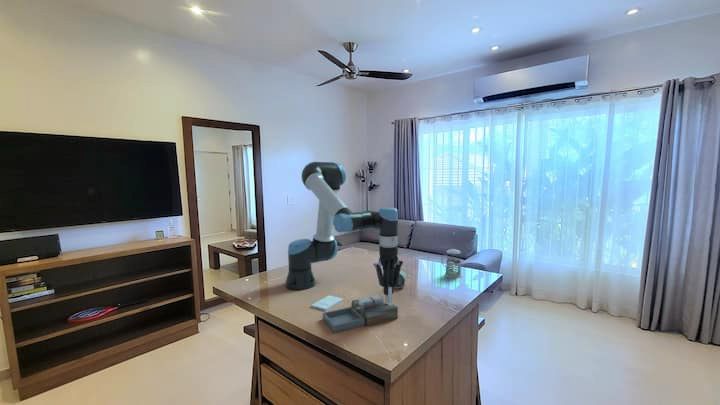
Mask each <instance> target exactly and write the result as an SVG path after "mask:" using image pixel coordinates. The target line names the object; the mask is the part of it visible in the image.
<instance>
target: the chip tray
mask: <svg viewBox="0 0 720 405" xmlns="http://www.w3.org/2000/svg"><path fill="white" fill-rule="evenodd" d="M322 320H323V321H324V323H325V324H326V325H327V326H328V327H329V329H330V330H331V331H332V333H339V332H343V331H347V330H352V329H355V328H358V327H363V326H365V325H366V324H365V318H364V317H362V316H361V315H360V314H359V313H358V312H357V311H356V310H355V309H354V308H352V306H349V307H343V308H339V309H335V310H328V311H324V312H322Z"/></svg>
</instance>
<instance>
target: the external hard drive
mask: <svg viewBox="0 0 720 405" xmlns="http://www.w3.org/2000/svg"><path fill="white" fill-rule="evenodd" d="M342 302H344V299H343V298H341V297H337V296H334V295H329V294H328V295H327V296H325V297H323V298H322V299H320V300H318V301H315V303H314V302H313V304H311V305H310V307H311V308H314V309H317V310H320V311H324V312H328V311H330V309H332V308H333V307H335V306H337V305H338V304H340V303H342Z"/></svg>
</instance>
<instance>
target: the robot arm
mask: <svg viewBox="0 0 720 405" xmlns="http://www.w3.org/2000/svg"><path fill="white" fill-rule="evenodd" d="M346 179H347V174H346V170H345V168H344V165H342V164H341V163H338V162H332V161H327V162H326V161H311V162H309V163H308V164H306V165H305V166H304V167H303V169H302V172H301V181H302V184H303V185H304V186H305V188H306V189H307V190H308V191H311V192H312V193H313V194H314V196H315V197H316V198H317V199H318V213H317V222H316V230H315V232H316V233H314V234H313V236H312V240H311V239H309V238H301V239H296V240H293V241H291V242H289V244H288V248H287V254H288V257H287V258H288V259H287V260H288V273H287V276H286V280H285V287H286V288H287V289H288V290H293V291H299V290H300V291H302V290H307V289H310V288H311V289H312V287H313V288H314V287H315V285H316V279H315V276H314V273H313V270H312V264H315V263H320V262H324V261H325V262H326V261H330V260H333V259H334V258H335V257H336V256H337V254H338V250H339V248H338V247H339V246H338V241H337V240H336V239H335V236H334V235H333V228H334V230H335V231H336V232H337V233H350V232H356V231H365V230H370V229H371V230H372V229H373V230H379V232H378V233H379V234H378V235H379V238H378V239H379V242H378V243H379V244H378V245H379V250H378V251H379V258H378V261H377V263H373V266H374V268H375V270H376V275H377V279H378V280H377V281H378V284H379V286H381V287H383V294H384V296H385V298H384V299H385V300H384V302H386V303H387V304H392V303H393V294H394V288H395V284H397V283H398V279H399V274H400V271H401V269H402V265H403V263H404V262H403V261H402V260H400V259H399V257H398V254H399V246H398V245H399V243H398V242H399V239H398V238H399V237H398V236H399V234H398V232H399V231H398V230H399V214H398V213H399V211H398V209H397V208H396V207H380V209H379V211H375V210H374V211H373V210H363V211H360V212H359V211H358V212H354V211H352V210H351V209H350V208H349V207H348V206H347V205H346V203H345V202H344V201H343V200H342V199H341V198H340V196H338V194H337V193H338V192H339V191H340V190H341V186H343V185H344V183H345V182H346Z"/></svg>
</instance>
